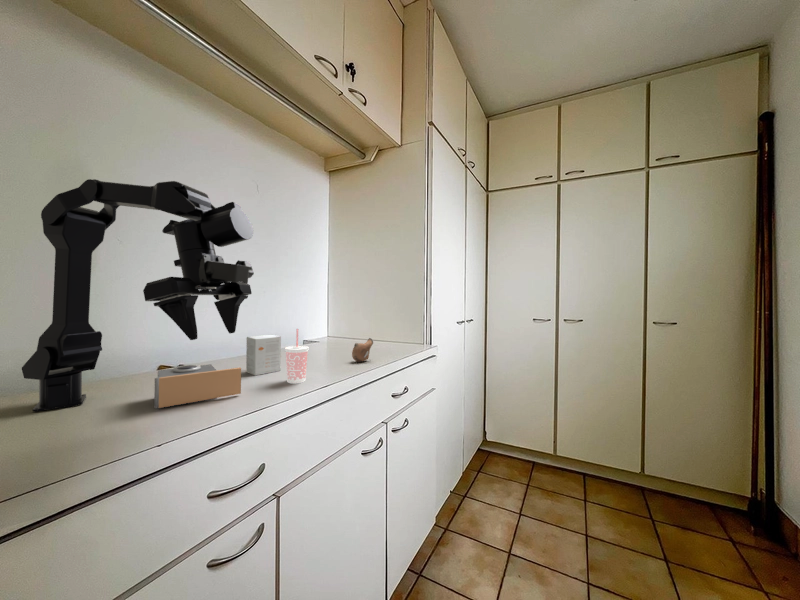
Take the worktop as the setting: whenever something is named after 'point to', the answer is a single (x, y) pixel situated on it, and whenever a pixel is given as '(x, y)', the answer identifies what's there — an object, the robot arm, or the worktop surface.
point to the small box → (263, 354)
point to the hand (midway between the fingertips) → (214, 336)
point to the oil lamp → (362, 350)
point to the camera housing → (185, 372)
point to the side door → (196, 387)
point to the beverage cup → (296, 362)
